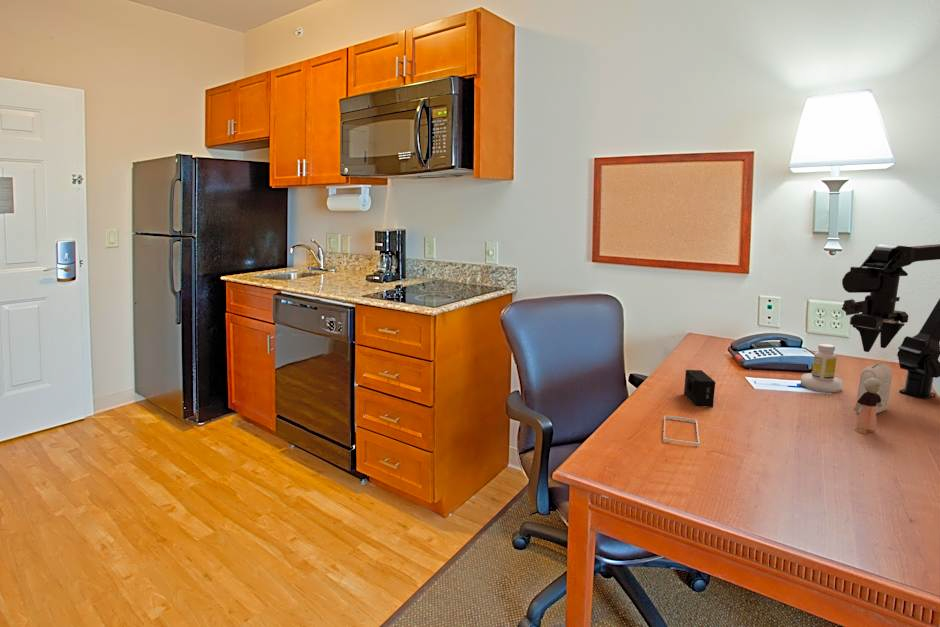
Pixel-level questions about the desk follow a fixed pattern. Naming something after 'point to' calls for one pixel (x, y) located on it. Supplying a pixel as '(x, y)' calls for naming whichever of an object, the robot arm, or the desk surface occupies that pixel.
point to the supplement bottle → (824, 363)
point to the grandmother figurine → (868, 406)
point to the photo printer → (883, 375)
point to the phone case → (681, 420)
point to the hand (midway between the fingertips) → (874, 349)
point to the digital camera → (699, 388)
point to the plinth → (821, 383)
